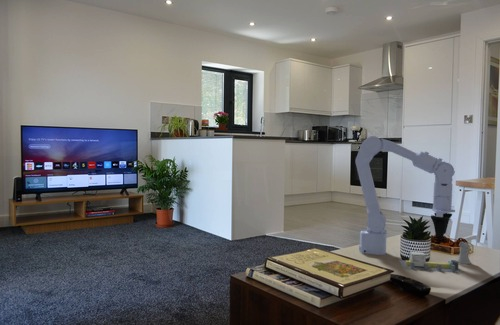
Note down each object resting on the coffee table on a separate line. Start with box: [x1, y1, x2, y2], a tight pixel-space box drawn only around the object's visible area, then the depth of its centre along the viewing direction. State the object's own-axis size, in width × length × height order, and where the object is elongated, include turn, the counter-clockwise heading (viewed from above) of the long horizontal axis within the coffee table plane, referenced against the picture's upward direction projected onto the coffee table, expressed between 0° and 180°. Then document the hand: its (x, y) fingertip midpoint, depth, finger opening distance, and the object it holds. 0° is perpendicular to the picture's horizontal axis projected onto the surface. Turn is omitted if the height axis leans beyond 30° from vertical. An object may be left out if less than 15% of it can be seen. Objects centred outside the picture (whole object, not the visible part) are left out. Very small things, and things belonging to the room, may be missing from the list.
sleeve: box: [408, 250, 427, 267], centre depth 122 cm, size 4×4×4 cm
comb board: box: [397, 259, 463, 274], centre depth 121 cm, size 17×10×3 cm, turn 80°
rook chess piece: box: [456, 241, 472, 265], centre depth 127 cm, size 4×4×8 cm
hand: (440, 235), depth 130 cm, fingers open, 7 cm apart
